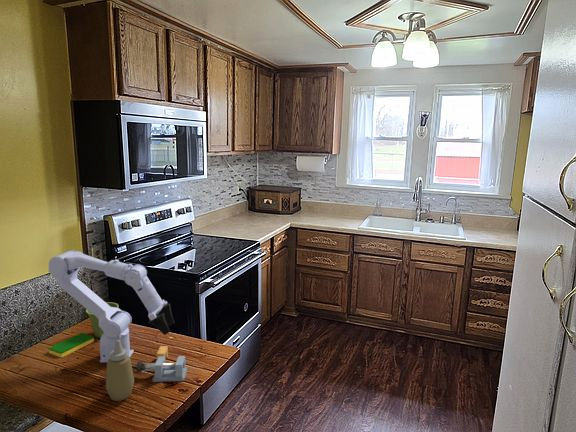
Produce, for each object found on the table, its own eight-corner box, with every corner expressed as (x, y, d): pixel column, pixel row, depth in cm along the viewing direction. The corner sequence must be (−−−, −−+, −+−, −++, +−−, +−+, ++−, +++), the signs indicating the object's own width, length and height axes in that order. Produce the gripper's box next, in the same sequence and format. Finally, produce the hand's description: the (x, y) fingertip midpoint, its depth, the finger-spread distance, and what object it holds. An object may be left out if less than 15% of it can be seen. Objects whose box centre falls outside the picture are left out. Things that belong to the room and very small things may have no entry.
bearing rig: (152, 381, 128) (151, 366, 127) (157, 370, 134) (156, 355, 133) (183, 380, 129) (183, 365, 128) (187, 370, 135) (186, 355, 134)
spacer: (157, 364, 138) (156, 353, 138) (160, 356, 144) (160, 346, 143) (164, 364, 139) (164, 353, 138) (167, 356, 144) (167, 346, 143)
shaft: (136, 374, 129) (136, 365, 128) (139, 368, 132) (139, 359, 132) (175, 373, 130) (175, 364, 129) (177, 368, 133) (177, 358, 133)
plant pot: (90, 329, 163) (88, 303, 161) (121, 326, 167) (119, 300, 165) (85, 343, 152) (83, 315, 150) (118, 339, 156) (117, 312, 154)
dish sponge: (94, 342, 154) (94, 336, 153) (61, 358, 141) (60, 352, 141) (82, 338, 157) (81, 332, 156) (48, 354, 144) (47, 347, 144)
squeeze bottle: (106, 406, 116) (102, 349, 112) (106, 390, 123) (103, 337, 120) (135, 400, 119) (132, 344, 116) (134, 385, 126) (131, 332, 123)
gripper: (153, 297, 131) (175, 331, 133) (164, 285, 145) (183, 315, 147) (135, 308, 131) (156, 341, 133) (147, 294, 145) (167, 325, 147)
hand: (169, 328), depth 140 cm, fingers open, 7 cm apart
